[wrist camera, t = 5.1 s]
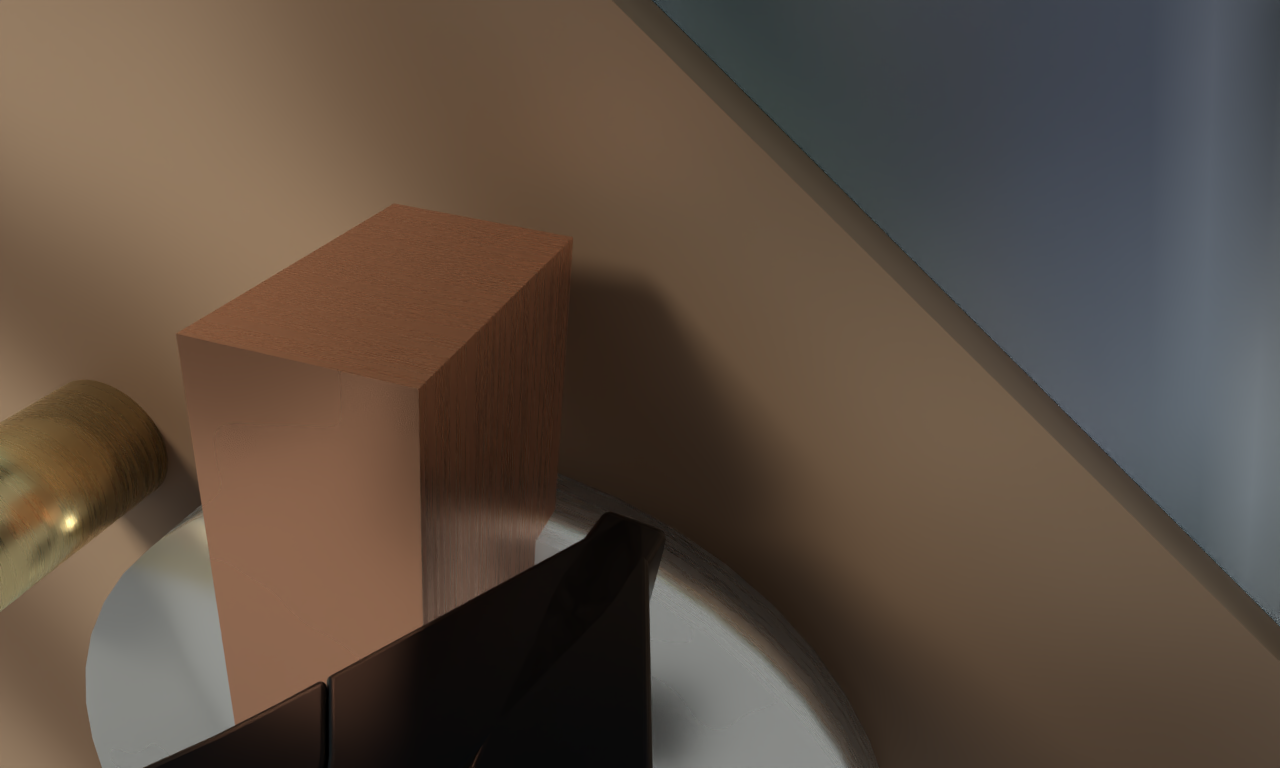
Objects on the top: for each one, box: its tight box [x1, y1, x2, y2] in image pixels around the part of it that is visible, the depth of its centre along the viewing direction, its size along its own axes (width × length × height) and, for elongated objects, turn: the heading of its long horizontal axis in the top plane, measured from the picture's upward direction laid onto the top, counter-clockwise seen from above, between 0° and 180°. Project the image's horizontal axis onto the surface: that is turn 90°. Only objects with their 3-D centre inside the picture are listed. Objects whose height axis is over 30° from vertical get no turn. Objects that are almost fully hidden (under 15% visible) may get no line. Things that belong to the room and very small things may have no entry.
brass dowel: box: [0, 380, 168, 612], centre depth 12 cm, size 2×2×3 cm
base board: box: [0, 0, 1280, 768], centre depth 14 cm, size 18×22×1 cm
